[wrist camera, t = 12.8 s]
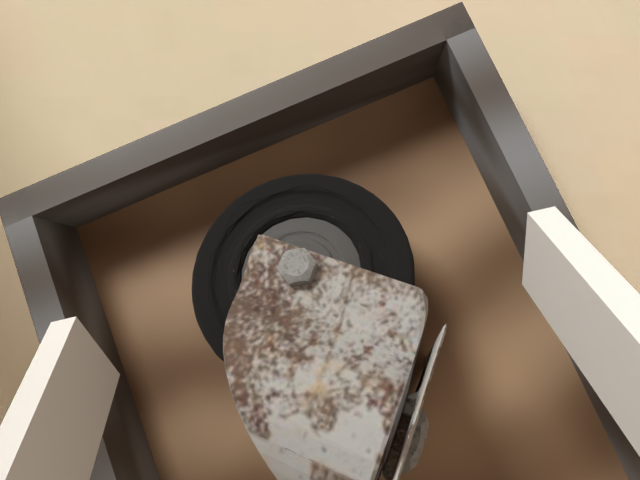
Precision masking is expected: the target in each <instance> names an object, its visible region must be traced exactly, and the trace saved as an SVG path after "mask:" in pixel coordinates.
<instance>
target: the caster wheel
mask: <svg viewBox="0 0 640 480" xmlns="http://www.w3.org/2000/svg"><path fill="white" fill-rule="evenodd" d="M192 302H193V307H194V313H195V317H196V320H197V323H198V325H199V327H200V329H201V331H202V334H203V336H204V338H205V339H206V341H207V342H208V344H209V345H210V346H211V348H212V349H213V351H214V352H215V354H216V355H217V356H218V357H219V358H220V359H221V360H222V361H224V363H225V370H226V374H227V378H228V383H229V387H230V390H231V393H232V396H233V399H234V402H235V405H236V408H237V410H238V412H239V415H240V417H241V419H242V421H243V423H244V425H245V428H246V430H247V432H248V433H249V435H250V437H251V439H252V441H253V443H254V444H255V446H256V448H257V450H258V451H259V453H260V455H261V456H262V458H263V459H264V461H265V462H266V464H267V466H268V467H269V469H270V470H271V471H272V473H273V474H274V476H275V477H276V479H277V480H380V477H381V474H382V475H383V476H384V478H385V479H386V480H399V479H400V475H401V473H402V474H405V473H406V472H408V471H409V470H411V469H412V468H414V467H415V466H416V465H417V464H418V461H419V459H420V456H421V453H422V450H423V447H424V443H425V440H426V437H427V433H428V429H429V422H428V419H427V416H426V414H425V411H424V409H422V406H423V403H424V399H425V396H426V393H427V390H428V387H429V384H430V380H431V377H432V374H433V371H434V368H435V365H436V361H437V358H438V355H439V352H440V349H441V346H442V342H443V339H444V336H445V333H446V328H447V326H446V324H445V325H444V326H443V328H442V330H441V332H440V334H439V335H438V337H437V339H436V341H435V343H434V345H433V347H432V349H431V351H430V352H429V354H428V356H427V358H426V361H425V365H424V368H423V371H422V374H421V377H420V380H419V383H418V386H417V389H416V392H415V393H411V394H408V390H409V385H410V381H411V377H412V373H413V368H414V365H415V361H416V357H417V353H418V350H419V346H420V342H421V339H422V335H423V331H424V327H425V324H426V320H427V315H428V297H427V296H426V294H425V293H424V291H423V290H422V289H421V288H419V287H416V286H415V268H414V258H413V253H412V250H411V247H410V244H409V240H408V237H407V235H406V233H405V231H404V229H403V227H402V225H401V223H400V221H399V220H398V219H397V217H396V216H395V214H394V213H393V212H392V211H391V210H390V209H389V207H388V206H387V205H386V204H385V203H384V202H383V201H381V200H380V199H379V198H378V197H377V196H375V195H374V194H373V193H371V192H370V191H368V190H366V189H365V188H363V187H361V186H360V185H357V184H355V183H353V182H350V181H348V180H345V179H343V178H339V177H334V176H328V175H322V174H297V175H290V176H284V177H280V178H277V179H274V180H271V181H268V182H265V183H263V184H261V185H258V186H256V187H254V188H252V189H251V190H249V191H247V192H246V193H244V194H243V195H241V196H240V197H238V198H237V199H236V200H234V201H233V202H232V203H231V204H230V205H229V206H228V207H227V208H226V209H225V210H224V211H223V212H222V213H221V214H220V215H219V216H218V217H217V219H216V220H215V222H214V223H213V224H212V226H211V227H210V229H209V230H208V232H207V233H206V235H205V238H204V240H203V242H202V244H201V246H200V248H199V251H198V253H197V256H196V261H195V265H194V269H193V275H192ZM407 394H408V396H407ZM382 471H383V473H382Z"/></svg>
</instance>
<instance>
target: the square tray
mask: <svg viewBox="0 0 640 480" xmlns="http://www.w3.org/2000/svg"><path fill="white" fill-rule="evenodd" d="M297 174H322V175H328V176H334V177H339V178H343V179H345V180H348V181H350V182H353V183H355V184H357V185H360V186H361V187H363V188H365V189H366V190H368V191H370V192H371V193H373V194H374V195H375V196H377V197H378V198H379V199H380V200H381V201H383V202H384V203H385V204H386V205H387V206H388V207H389V209H390V210H391V211H392V212H393V213H394V214H395V216H396V217H397V219H398V220H399V221H400V223H401V225H402V227H403V229H404V231H405V233H406V235H407V237H408V240H409V244H410V247H411V250H412V253H413V258H414V268H415V286H416V287H419V288H421V289H422V290H423V291H424V293H425V294H426V296H427V297H428V315H427V320H426V324H425V327H424V331H423V335H422V339H421V342H420V346H419V350H418V353H417V357H416V361H415V365H414V368H413V373H412V377H411V381H410V385H409V390H408V394H411V393H415V392H416V389H417V386H418V383H419V380H420V377H421V374H422V371H423V368H424V365H425V361H426V358H427V356H428V354H429V352H430V351H431V349H432V347H433V345H434V343H435V341H436V339H437V337H438V335H439V334H440V332H441V330H442V328H443V326H444V325H445V324H446V326H447V328H446V333H445V336H444V339H443V342H442V346H441V349H440V352H439V355H438V358H437V361H436V365H435V368H434V371H433V374H432V377H431V380H430V384H429V387H428V390H427V393H426V396H425V399H424V403H423V406H422V409H424V411H425V414H426V416H427V419H428V422H429V429H428V433H427V437H426V440H425V443H424V447H423V450H422V453H421V456H420V459H419V461H418V464H417V465H416V466H415V467H414V468H412V469H411V470H409V471H408V472H406V473H405V474H402V473H401V475H400V479H399V480H640V457H639V455H638V454H637V452H636V451H635V449H634V448H633V446H632V445H631V443H630V442H629V440H628V439H627V437H626V436H625V435H624V433H623V432H622V430H621V429H620V427H619V426H618V424H617V423H616V421H615V420H614V418H613V417H612V415H611V414H610V413H609V411H608V410H607V408H606V407H605V405H604V404H603V402H602V401H601V399H600V398H599V396H598V395H597V393H596V392H595V391H594V389H593V388H592V386H591V385H590V383H589V382H588V380H587V379H586V377H585V376H584V374H583V373H582V371H581V370H580V369H579V367H578V366H577V364H576V363H575V361H574V360H573V358H572V357H571V355H570V354H569V352H568V351H567V349H566V348H565V347H564V345H563V344H562V342H561V341H560V339H559V338H558V336H557V335H556V333H555V332H554V330H553V329H552V327H551V326H550V325H549V323H548V322H547V320H546V319H545V317H544V316H543V314H542V313H541V311H540V310H539V308H538V307H537V305H536V304H535V303H534V301H533V300H532V298H531V297H530V295H529V294H528V292H527V291H526V289H525V288H524V286H523V285H522V277H523V264H524V251H525V238H526V225H527V213H528V212H532V211H537V210H541V209H545V208H550V207H554V206H555V207H556V208H557V209H558V210H559V211H560V212H561V213H562V214H563V215H564V216H565V217H566V218H567V219H568V221H569V222H570V223H571V224H572V225H573V226H574V227H575V228H576V229H577V230H578V228H577V226H576V224H575V222H574V220H573V218H572V216H571V214H570V212H569V210H568V208H567V206H566V204H565V202H564V200H563V198H562V197H561V195H560V193H559V191H558V189H557V187H556V185H555V183H554V181H553V179H552V177H551V175H550V173H549V171H548V169H547V167H546V165H545V163H544V161H543V159H542V157H541V155H540V153H539V152H538V150H537V148H536V146H535V144H534V142H533V140H532V138H531V136H530V134H529V132H528V130H527V128H526V126H525V124H524V122H523V120H522V118H521V116H520V114H519V112H518V110H517V108H516V107H515V105H514V103H513V101H512V99H511V97H510V95H509V93H508V91H507V89H506V87H505V85H504V83H503V81H502V79H501V77H500V75H499V73H498V71H497V69H496V67H495V65H494V63H493V62H492V60H491V58H490V56H489V54H488V52H487V50H486V48H485V46H484V44H483V42H482V40H481V38H480V36H479V34H478V32H477V30H476V28H475V26H474V24H473V22H472V20H471V18H470V17H469V15H468V13H467V11H466V9H465V7H464V5H463V3H462V2H460V3H458V4H456V5H453V6H451V7H449V8H446V9H444V10H442V11H439V12H437V13H434V14H432V15H430V16H427V17H425V18H423V19H420V20H418V21H416V22H413V23H411V24H409V25H406V26H404V27H402V28H399V29H397V30H394V31H392V32H390V33H387V34H385V35H383V36H380V37H378V38H376V39H373V40H371V41H369V42H366V43H364V44H362V45H359V46H357V47H355V48H352V49H350V50H347V51H345V52H343V53H340V54H338V55H336V56H333V57H331V58H329V59H326V60H324V61H322V62H319V63H317V64H315V65H312V66H310V67H307V68H305V69H303V70H300V71H298V72H296V73H293V74H291V75H289V76H286V77H284V78H282V79H279V80H277V81H275V82H272V83H270V84H267V85H265V86H263V87H260V88H258V89H256V90H253V91H251V92H249V93H246V94H244V95H242V96H239V97H237V98H235V99H232V100H230V101H228V102H225V103H223V104H220V105H218V106H216V107H213V108H211V109H209V110H206V111H204V112H202V113H199V114H197V115H195V116H192V117H190V118H188V119H185V120H183V121H180V122H178V123H176V124H173V125H171V126H169V127H166V128H164V129H162V130H159V131H157V132H155V133H152V134H150V135H148V136H145V137H143V138H140V139H138V140H136V141H133V142H131V143H129V144H126V145H124V146H122V147H119V148H117V149H115V150H112V151H110V152H108V153H105V154H103V155H101V156H98V157H96V158H93V159H91V160H89V161H86V162H84V163H82V164H79V165H77V166H75V167H72V168H70V169H68V170H65V171H63V172H61V173H58V174H56V175H53V176H51V177H49V178H46V179H44V180H42V181H39V182H37V183H35V184H32V185H30V186H28V187H25V188H23V189H21V190H18V191H16V192H14V193H11V194H9V195H6V196H4V197H2V198H0V216H1V219H2V223H3V226H4V229H5V232H6V236H7V239H8V242H9V245H10V249H11V252H12V255H13V258H14V262H15V265H16V268H17V271H18V275H19V278H20V281H21V284H22V288H23V291H24V294H25V297H26V301H27V304H28V307H29V310H30V314H31V317H32V320H33V323H34V326H35V330H36V333H37V336H38V339H39V343H40V344H41V342H42V340H43V337H44V335H45V333H46V331H47V329H48V327H49V325H50V323H51V322H54V321H59V320H63V319H67V318H72V317H77V318H78V319H79V321H80V322H81V323H82V325H83V326H84V327H85V329H86V330H87V331H88V333H89V334H90V335H91V337H92V338H93V339H94V341H95V342H96V343H97V344H98V346H99V347H100V348H101V350H102V351H103V352H104V354H105V355H106V356H107V358H108V359H109V360H110V362H111V363H112V364H113V366H114V367H115V368H116V370H117V371H118V372H119V374H120V376H119V380H118V383H117V387H116V390H115V394H114V397H113V401H112V404H111V407H110V411H109V414H108V418H107V421H106V425H105V428H104V432H103V435H102V438H101V442H100V445H99V449H98V452H97V456H96V459H95V463H94V466H93V470H92V473H91V476H90V480H277V479H276V477H275V476H274V474H273V473H272V471H271V470H270V469H269V467H268V466H267V464H266V462H265V461H264V459H263V458H262V456H261V455H260V453H259V451H258V450H257V448H256V446H255V444H254V443H253V441H252V439H251V437H250V435H249V433H248V432H247V430H246V428H245V425H244V423H243V421H242V419H241V417H240V415H239V412H238V410H237V408H236V405H235V402H234V399H233V396H232V393H231V390H230V387H229V383H228V378H227V374H226V370H225V363H224V361H222V360H221V359H220V358H219V357H218V356H217V355H216V354H215V352H214V351H213V349H212V348H211V346H210V345H209V344H208V342H207V341H206V339H205V338H204V336H203V334H202V331H201V329H200V327H199V325H198V323H197V320H196V317H195V313H194V307H193V302H192V275H193V269H194V265H195V261H196V256H197V253H198V251H199V248H200V246H201V244H202V242H203V240H204V238H205V235H206V233H207V232H208V230H209V229H210V227H211V226H212V224H213V223H214V222H215V220H216V219H217V217H218V216H219V215H220V214H221V213H222V212H223V211H224V210H225V209H226V208H227V207H228V206H229V205H230V204H231V203H232V202H233V201H234V200H236V199H237V198H238V197H240V196H241V195H243V194H244V193H246V192H247V191H249V190H251V189H252V188H254V187H256V186H258V185H261V184H263V183H265V182H268V181H271V180H274V179H277V178H280V177H284V176H290V175H297ZM578 231H579V230H578ZM408 394H407V396H408ZM382 473H383V471H382ZM380 480H386V479H385V478H384V476H383V475H382V474H381V477H380Z"/></svg>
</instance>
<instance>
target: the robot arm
mask: <svg viewBox="0 0 640 480" xmlns="http://www.w3.org/2000/svg"><path fill="white" fill-rule="evenodd" d="M522 285H523V286H524V288H525V289H526V291H527V292H528V294H529V295H530V297H531V298H532V300H533V301H534V303H535V304H536V305H537V307H538V308H539V310H540V311H541V313H542V314H543V316H544V317H545V319H546V320H547V322H548V323H549V325H550V326H551V327H552V329H553V330H554V332H555V333H556V335H557V336H558V338H559V339H560V341H561V342H562V344H563V345H564V347H565V348H566V349H567V351H568V352H569V354H570V355H571V357H572V358H573V360H574V361H575V363H576V364H577V366H578V367H579V369H580V370H581V371H582V373H583V374H584V376H585V377H586V379H587V380H588V382H589V383H590V385H591V386H592V388H593V389H594V391H595V392H596V393H597V395H598V396H599V398H600V399H601V401H602V402H603V404H604V405H605V407H606V408H607V410H608V411H609V413H610V414H611V415H612V417H613V418H614V420H615V421H616V423H617V424H618V426H619V427H620V429H621V430H622V432H623V433H624V435H625V436H626V437H627V439H628V440H629V442H630V443H631V445H632V446H633V448H634V449H635V451H636V452H637V454H638V455H639V457H640V294H639V293H638V292H637V291H636V290H635V289H634V288H633V287H632V286H631V285H630V284H629V283H628V282H627V281H626V280H625V279H624V278H623V277H622V276H621V275H620V274H619V273H618V272H617V270H616V269H615V268H614V267H613V266H612V265H611V264H610V263H609V262H608V261H607V260H606V259H605V258H604V257H603V256H602V255H601V254H600V253H599V252H598V251H597V250H596V249H595V248H594V247H593V246H592V244H591V243H590V242H589V241H588V240H587V239H586V238H585V237H584V236H583V235H582V234H581V233H580V232H579V231H578V230H577V229H576V228H575V227H574V226H573V225H572V224H571V223H570V222H569V221H568V219H567V218H566V217H565V216H564V215H563V214H562V213H561V212H560V211H559V210H558V209H557V208H556V207H555V206H554V207H550V208H545V209H541V210H537V211H532V212H528V213H527V225H526V238H525V251H524V264H523V277H522ZM119 376H120V374H119V372H118V371H117V370H116V368H115V367H114V366H113V364H112V363H111V362H110V360H109V359H108V358H107V356H106V355H105V354H104V352H103V351H102V350H101V348H100V347H99V346H98V344H97V343H96V342H95V341H94V339H93V338H92V337H91V335H90V334H89V333H88V331H87V330H86V329H85V327H84V326H83V325H82V323H81V322H80V321H79V319H78V318H77V317H72V318H67V319H63V320H59V321H54V322H51V323H50V325H49V327H48V329H47V331H46V333H45V335H44V337H43V340H42V342H41V344H40V346H39V348H38V350H37V352H36V354H35V356H34V358H33V360H32V362H31V364H30V366H29V368H28V370H27V372H26V374H25V376H24V378H23V380H22V382H21V385H20V387H19V389H18V391H17V393H16V395H15V397H14V399H13V401H12V403H11V405H10V407H9V409H8V411H7V413H6V415H5V417H4V419H3V421H2V423H1V425H0V480H90V476H91V473H92V470H93V466H94V463H95V459H96V456H97V452H98V449H99V445H100V442H101V438H102V435H103V432H104V428H105V425H106V421H107V418H108V414H109V411H110V407H111V404H112V401H113V397H114V394H115V390H116V387H117V383H118V380H119Z"/></svg>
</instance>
